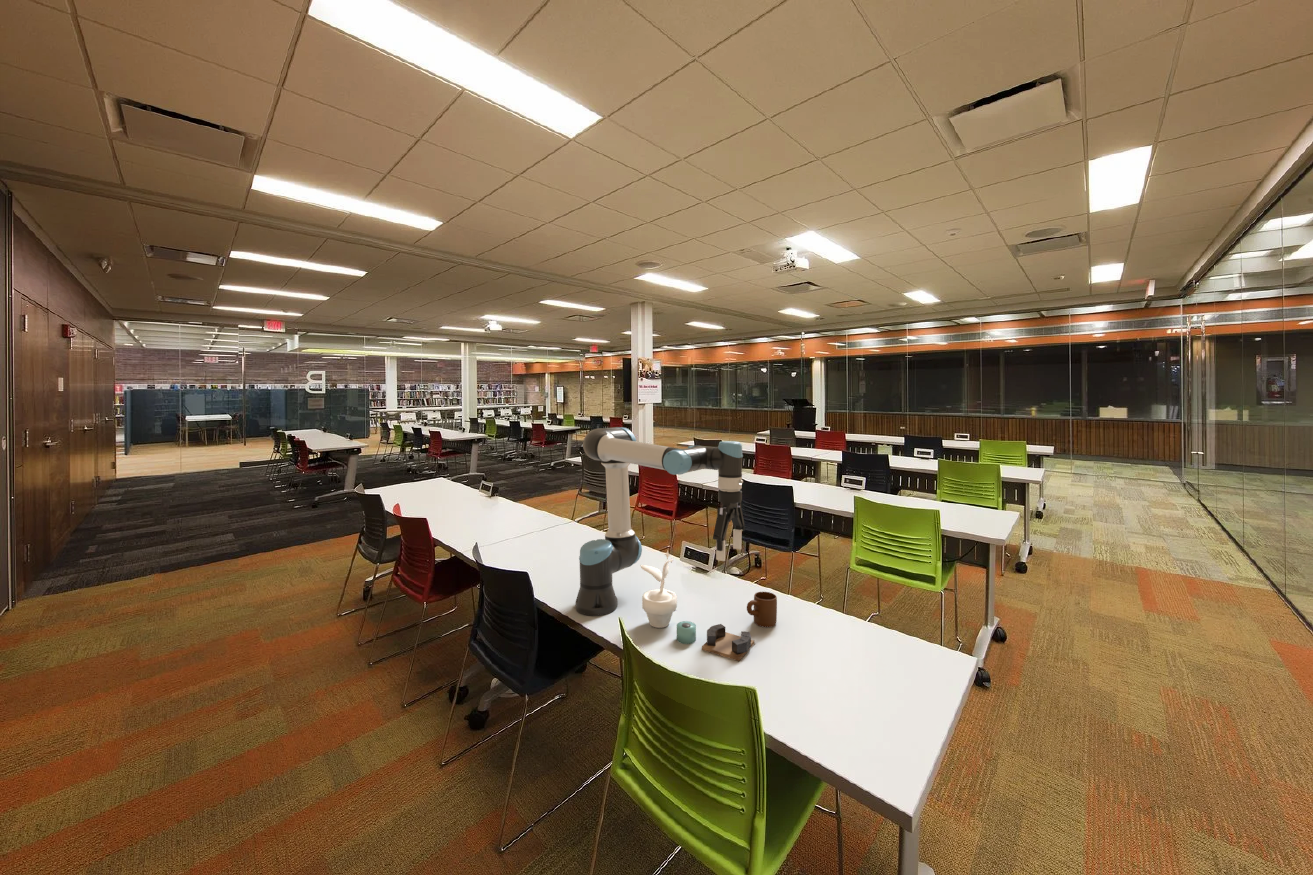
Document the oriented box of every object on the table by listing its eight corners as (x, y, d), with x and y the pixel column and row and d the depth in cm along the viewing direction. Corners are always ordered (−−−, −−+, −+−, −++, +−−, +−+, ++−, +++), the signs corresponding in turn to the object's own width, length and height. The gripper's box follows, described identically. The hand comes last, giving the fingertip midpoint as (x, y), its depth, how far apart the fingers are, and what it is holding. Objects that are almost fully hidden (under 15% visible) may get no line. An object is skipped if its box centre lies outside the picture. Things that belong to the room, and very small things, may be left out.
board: (701, 649, 142) (701, 646, 142) (718, 633, 152) (718, 630, 152) (739, 661, 135) (739, 657, 135) (754, 643, 145) (754, 640, 145)
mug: (755, 633, 151) (755, 605, 151) (739, 624, 158) (739, 597, 157) (781, 624, 158) (781, 597, 157) (764, 615, 164) (765, 589, 164)
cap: (673, 640, 147) (673, 626, 147) (682, 632, 152) (682, 618, 152) (690, 646, 144) (690, 631, 143) (699, 637, 149) (699, 623, 149)
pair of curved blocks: (702, 644, 143) (702, 634, 143) (715, 631, 151) (715, 622, 151) (742, 656, 136) (742, 646, 136) (754, 642, 144) (754, 632, 144)
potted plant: (682, 620, 161) (682, 548, 159) (668, 635, 150) (668, 558, 149) (648, 613, 166) (648, 543, 164) (633, 627, 156) (633, 553, 154)
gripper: (725, 497, 139) (724, 567, 140) (754, 484, 160) (753, 546, 162) (702, 494, 143) (701, 563, 144) (734, 482, 164) (733, 542, 166)
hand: (729, 554), depth 153 cm, fingers open, 13 cm apart
